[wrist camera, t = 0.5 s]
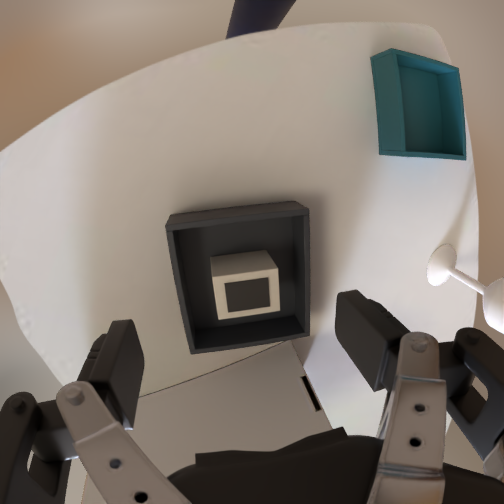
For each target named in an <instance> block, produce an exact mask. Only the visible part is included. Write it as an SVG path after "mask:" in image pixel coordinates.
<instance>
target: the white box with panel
mask: <svg viewBox="0 0 504 504" xmlns="http://www.w3.org/2000/svg"><path fill="white" fill-rule="evenodd" d="M210 259H211V270H212V280H213V287H214V294H215V300H216V307H217V314H218V319H219V320H221V319H228V318H235V317H242V316H249V315H256V314H262V313H269V312H275V311H280V296H279V275H278V268H277V266H276V264H275V263H274V261H273V260H272V258H271V257H270V255H269V254H268V252H267V251H266V250H261V251H253V252H245V253H237V254H229V255H222V256H214V257H210Z"/></svg>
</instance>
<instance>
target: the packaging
mask: <svg viewBox="0 0 504 504" xmlns="http://www.w3.org/2000/svg"><path fill="white" fill-rule="evenodd" d="M332 429H333V428H332V426H331V424H330V422H329V420H328V418H327V416H326V414H325V412H324V410H323V408H322V405H321V403H320V401H319V399H318V397H317V395H316V393H315V391H314V389H313V387H312V385H311V382H310V380H309V378H308V376H307V374H306V372H305V370H304V368H303V366H302V364H301V361H300V359H299V357H298V355H297V353H296V351H295V349H294V347H293V345H292V343H291V340H288V341H285V342H283V343H281V344H279V345H276V346H274V347H272V348H270V349H267V350H265V351H263V352H261V353H258V354H256V355H254V356H251V357H249V358H246V359H244V360H242V361H239V362H237V363H234V364H232V365H229V366H227V367H224V368H222V369H219V370H217V371H214V372H211V373H209V374H206V375H204V376H201V377H198V378H196V379H193V380H190V381H187V382H184V383H182V384H179V385H176V386H173V387H170V388H167V389H164V390H161V391H158V392H155V393H152V394H149V395H146V396H143V397H140V398H138V403H137V409H136V415H135V421H134V427H133V430H126V431H127V432H128V434H129V435H130V436H131V438H132V439H133V440H134V441H135V443H136V444H137V445H138V446H139V447H140V449H141V450H142V451H143V452H144V453H145V455H146V456H147V457H148V458H149V459H150V460H151V462H152V463H153V464H154V465H155V466H156V467H157V468H158V469H159V471H160V472H161V473H162V474H163V475H164V476H165V477H168V476H169V475H171V474H172V473H174V472H175V471H177V470H179V469H181V468H184V467H186V466H189V465H192V464H195V453H207V452H217V451H226V450H243V451H275V450H278V449H280V448H283V447H285V446H287V445H290V444H292V443H294V442H296V441H299V440H301V439H303V438H305V437H307V436H310V435H314V434H318V433H321V432H325V431H329V430H332ZM81 504H107V503H106V501H105V500H104V498H103V497H102V495H101V494H100V492H99V491H98V489H97V488H96V486H95V484H94V483H93V481H92V479H91V478H90V476H89V474H88V473H87V475H86V480H85V485H84V491H83V496H82V502H81Z"/></svg>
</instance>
